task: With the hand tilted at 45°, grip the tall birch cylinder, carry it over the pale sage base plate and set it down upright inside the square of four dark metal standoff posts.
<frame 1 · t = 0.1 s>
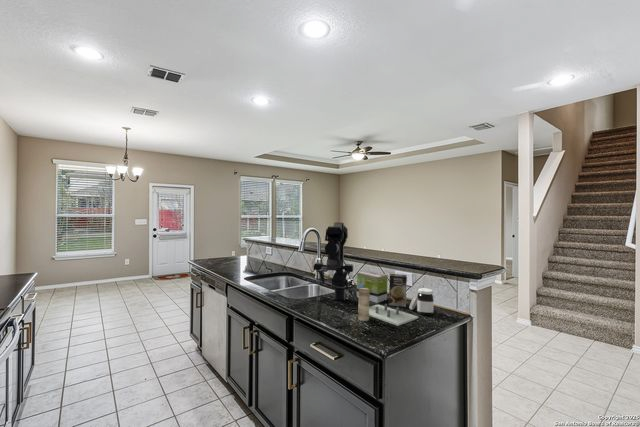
hand: (333, 285, 147), 15 cm above the countertop, tool pointing down, fingers open, 9 cm apart
spread jar: (420, 312, 155), on the countertop
tea box: (371, 299, 178), on the countertop
birch cylinder: (363, 319, 143), on the countertop
coffee box: (397, 304, 167), on the countertop
standoff plate: (387, 314, 150), on the countertop
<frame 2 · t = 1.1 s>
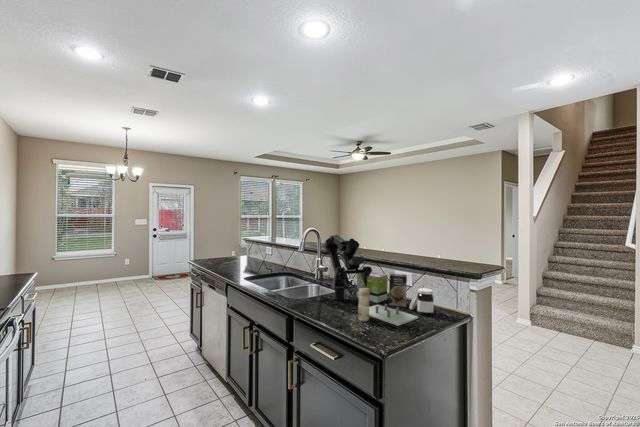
hand: (357, 286, 150), 13 cm above the countertop, tool tilted 45°, fingers open, 9 cm apart
nothing on the countertop moved.
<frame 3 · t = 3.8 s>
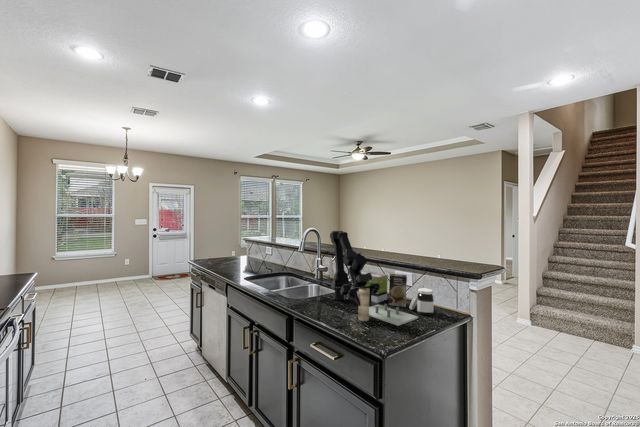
hand: (365, 305, 141), 7 cm above the countertop, tool tilted 45°, fingers closed on birch cylinder, 5 cm apart
birch cylinder: (363, 319, 143), on the countertop, touching gripper
everything else where it was.
when the fingers open (9 cm above the countertop, at t = 7.6 s): birch cylinder drops 1 cm, resting on standoff plate.
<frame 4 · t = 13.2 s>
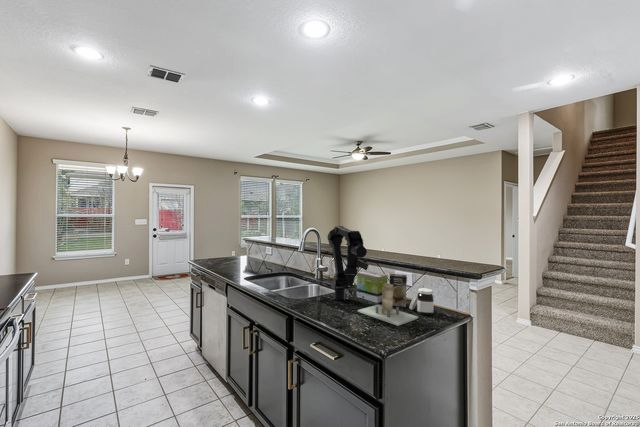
hand: (351, 284, 160), 12 cm above the countertop, tool pointing down, fingers open, 9 cm apart
birch cylinder: (387, 313, 150), point 1 cm above the countertop, touching standoff plate
everything else where it was.
at the end: birch cylinder 0.1 cm off-centre on the standoff plate, point 0.8 cm above the standoff plate's base; birch cylinder tilted 1°; the gripper is holding nothing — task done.
